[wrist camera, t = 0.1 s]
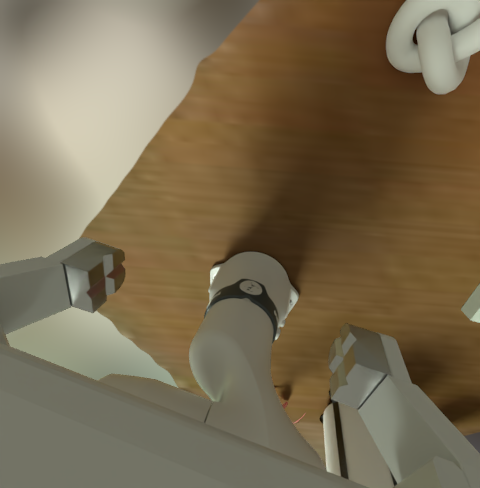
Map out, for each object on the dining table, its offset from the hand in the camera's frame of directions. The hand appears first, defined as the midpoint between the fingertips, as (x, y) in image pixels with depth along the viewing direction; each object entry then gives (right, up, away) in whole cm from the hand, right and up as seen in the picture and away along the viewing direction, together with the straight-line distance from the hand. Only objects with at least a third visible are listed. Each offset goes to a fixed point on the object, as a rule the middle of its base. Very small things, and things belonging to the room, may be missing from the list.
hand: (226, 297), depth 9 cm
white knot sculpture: (+26, +29, +25) cm, 46 cm away
